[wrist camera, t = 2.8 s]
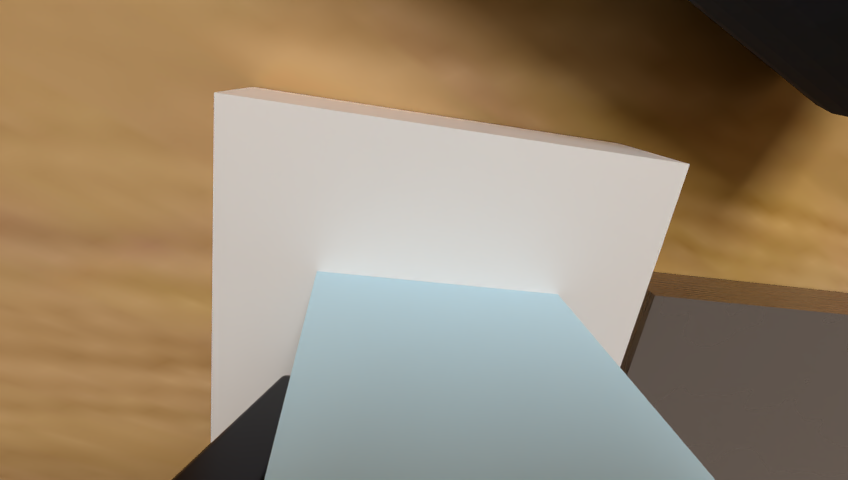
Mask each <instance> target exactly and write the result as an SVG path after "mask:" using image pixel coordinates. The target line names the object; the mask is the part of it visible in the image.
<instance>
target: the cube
mask: <svg viewBox="0 0 848 480" xmlns="http://www.w3.org/2000/svg"><path fill="white" fill-rule="evenodd" d="M264 480H715V479H714V478H713V476H712V475H711V474H710V473H709V472H708V471H707V469H706V468H705V467H704V466H703V465H702V463H701V462H700V461H699V460H698V459H697V458H696V456H695V455H694V454H693V453H692V452H691V451H690V449H689V448H688V447H687V446H686V445H685V443H684V442H683V441H682V440H681V439H680V438H679V436H678V435H677V434H676V433H675V432H674V431H673V429H672V428H671V427H670V426H669V425H668V423H667V422H666V421H665V420H664V419H663V418H662V416H661V415H660V414H659V413H658V412H657V410H656V409H655V408H654V407H653V406H652V405H651V403H650V402H649V401H648V400H647V399H646V398H645V396H644V395H643V394H642V393H641V392H640V390H639V389H638V388H637V387H636V386H635V385H634V383H633V382H632V381H631V380H630V379H629V377H628V376H627V375H626V374H625V373H624V372H623V370H622V369H621V368H620V367H619V366H618V365H617V363H616V362H615V361H614V360H613V359H612V357H611V356H610V355H609V354H608V353H607V352H606V350H605V349H604V348H603V347H602V346H601V345H600V343H599V342H598V341H597V340H596V339H595V337H594V336H593V335H592V334H591V333H590V332H589V330H588V329H587V328H586V327H585V326H584V324H583V323H582V322H581V321H580V320H579V319H578V317H577V316H576V315H575V314H574V313H573V312H572V310H571V309H570V308H569V307H568V306H567V304H566V303H565V302H564V301H563V300H562V299H561V297H560V296H559V295H558V294H549V293H539V292H529V291H518V290H508V289H497V288H487V287H476V286H466V285H456V284H445V283H435V282H424V281H414V280H403V279H393V278H383V277H372V276H362V275H351V274H341V273H330V272H320V271H317V273H316V276H315V280H314V284H313V288H312V292H311V296H310V300H309V304H308V308H307V312H306V316H305V320H304V324H303V328H302V332H301V336H300V340H299V344H298V348H297V352H296V356H295V360H294V364H293V368H292V372H291V376H290V380H289V384H288V388H287V391H286V395H285V399H284V403H283V407H282V411H281V415H280V419H279V423H278V427H277V431H276V435H275V439H274V443H273V447H272V451H271V455H270V459H269V463H268V467H267V471H266V475H265V479H264Z"/></svg>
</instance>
